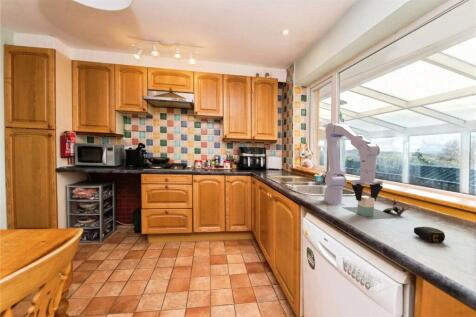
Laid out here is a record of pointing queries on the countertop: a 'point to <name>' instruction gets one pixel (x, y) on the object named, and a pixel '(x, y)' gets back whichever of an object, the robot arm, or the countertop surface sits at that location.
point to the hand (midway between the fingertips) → (365, 200)
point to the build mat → (376, 214)
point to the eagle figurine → (396, 209)
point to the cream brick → (366, 201)
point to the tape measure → (430, 234)
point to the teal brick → (365, 210)
